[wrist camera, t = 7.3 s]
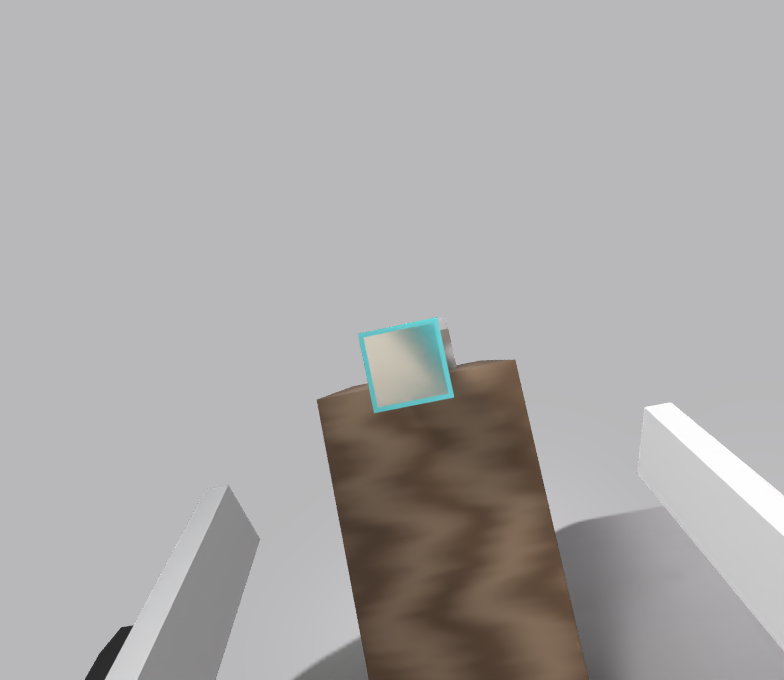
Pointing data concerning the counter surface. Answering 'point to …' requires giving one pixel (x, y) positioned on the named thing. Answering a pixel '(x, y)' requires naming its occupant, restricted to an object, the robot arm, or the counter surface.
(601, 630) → the counter surface
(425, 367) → the cream teal square bar
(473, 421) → the stand
